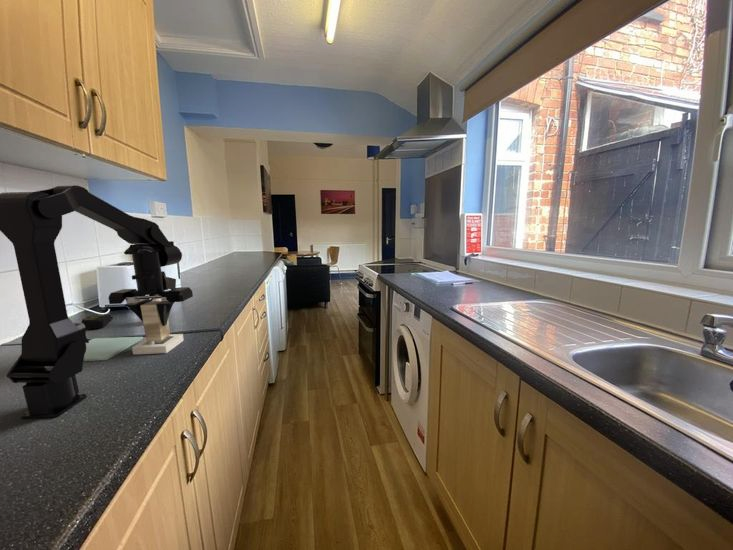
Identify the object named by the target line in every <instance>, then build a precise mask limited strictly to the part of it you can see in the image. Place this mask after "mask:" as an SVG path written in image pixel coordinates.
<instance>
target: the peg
mask: <svg viewBox="0 0 733 550" xmlns="http://www.w3.org/2000/svg"><path fill="white" fill-rule="evenodd" d="M160 302H161V301H152V300H149V302H148V303H145V304H143V305H140V306H141V312H142V318H143V322H142V324H143V331H144V334H145V339H146V341H162V340H163V339H165V338H166V337H168V336H169V335H170V334H171V331H170V324H169V321H167V324H166V325H165V326H163V325H162V323H161V320H160V316H159V312H158V309H157V305H156V304H158V303H160Z"/></svg>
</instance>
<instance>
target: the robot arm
mask: <svg viewBox="0 0 733 550" xmlns="http://www.w3.org/2000/svg"><path fill="white" fill-rule="evenodd" d="M73 212H76V213H78V214H80V215H82V216H84V217H87V218H89V219H90V220H93V221H95V222H97V223H99V224H101V225H104V226H106V227H108V228H110V229H112V230H113V231H115V232H116V233H117V236H118V237H119V238H120V239H122V240H124V242H126V243H128V244H129V247H128V248H126V250H125V251H124V252H123V253H124V255H131V257H132V264H133V269H134V270H133V271H134V274H132V275H131V279H132V281H133V280H135V281H136V282H135V283H136V287H137V288H122V289H120V290H116V291H113V292H110V294H109V295H108V297H107V298H108V303H109V304H108V305H119V304H123V303H124V301H125V302H126V304H125V303H124V307H125V308H126V307H127V308H128V309H130V310H131V311H132V312H133V313H134V314H135V316H137V317H138V319H139V320H140V321H141V322H142V323H143V318H142V312H141V306H140V305H143V304H145V303H148V302H150V301H151V299H152V300H153V299H158V298H161V302H160V303H158V304H156V305H157V309H158V312H159V316H160V320H161V323H162V325H163V326H165V325H166V324H167V321H168V320H169V317H170V314H171V310H172V307H173V306H174V304H175V303H182V302H184V301H187V300H189V299H191V298H193V297H194V295H193V290H192V288H190V287H189V286H188V287H187V286H185V287H184V286H183V287H176V286H177V278H173V277H168V276H166V272H165V271H162V268H163V267H167V266H170V265H171V266H172V265H175V264H179V263H180V262H181V260H183V259H182V258H183V253H182V251H181V249H180V248H179V247H178V246H176V245H175V244H174V243H175V242H174V241H169V240H168V238H167V237H166V236H165V234H164V233H163V231H162V230H161V229H160V226H159V225H158V223H156V222H154V221H152V220H149V219H146V218H143V217H137V216H132V215H131V214H129V213H126V212H125V211H123V210H121V209H119V208H118V207H117V206H114V205H112V204H110V203H109V202H108V201H105V200H104V199H101V198H100V197H98V196H96V195H95V194H93V193H91V192H89V190H88V189H87V188H85V187H84V186H80V185H76V184H75V185H57V186H54V187H51V188H48V189H43V190H42V189H40V190H35V191H18V192H17V191H15V192H14V191H11V192H10V191H9V192H8V191H7V192H1V193H0V232H1V233H2V234H3V236H4V237H6V238H7V239H8V241H10V243H12V246H13V249H14V253H15V258H16V263H17V268H18V273H19V278H20V283H21V287H22V291H23V297H24V301H25V307H26V311H27V315H28V322H29V323H28V326H27V328H26V329H25V332H24V334H23V335H22V337H21V354H20V355H19V356H18V357H17V360H16V361H15V362H14V364H13V365H12V367H11V368H10V369H9V371H8V372H7V374H6V378H7V379H8V380H10V382H11V383H12V384H23V383H24V385H23V386H22V391H23V394H24V395H23V396H24V398H25V402H26V406H27V411H25V412H23V413H22V414H20V415H19V416H20V418H21V419H35V418H37V419H38V418H55V417H58V416H61V415H62V414H64V413H65V412H67V411H68V410H70V408H73V406H75V405H77V404H78V403H79V402H81V401H82V400H84V399H85V398H87V394H86V393H80V391H79V385H78V381H77V377H76V375H78V374H80V373H81V372H82V371H83V365H84V361H83V360H84V354H85V353H86V343H89V341H90V340H89V339H88V337H87V334H86V333H87V332H86V331H87V329H86V327H85V325H84V324H83V323H82V322H77V323H75V322H73V321H72V320H71V319H70V318H69V315H68V310H67V305H66V300H65V295H64V290H63V284H62V277H61V274H60V267H59V264H58V263H59V262H58V258H57V257H58V256H57V251H56V247H55V242H56V240H57V238H58V236H59V234H60V232H61V231H62V228H63V216H65V215H67V214H70V213H73ZM168 322H169V321H168Z"/></svg>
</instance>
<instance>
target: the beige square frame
mask: <svg viewBox="0 0 733 550" xmlns="http://www.w3.org/2000/svg"><path fill="white" fill-rule="evenodd" d="M184 341H185V340H184V333H175V334H174V333H173V334H172V333H170V335H169V336H168V337H166V338H165V339H163V340H162V341H146V338H145V339H144V340H141V341H139V342H138V343H137V344H134V346H132V347H131V349H132V355H133V356H134V355H153V354H156V355H157V354H167V353H169V352H170V351H172V350H174V348H175V347H177V346H178V345H179V344H181V343H183V342H184Z"/></svg>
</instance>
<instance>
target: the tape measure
mask: <svg viewBox="0 0 733 550" xmlns="http://www.w3.org/2000/svg"><path fill="white" fill-rule="evenodd" d="M113 317H114V316H113V315H111V314H109V313H108V314H107V313H106V314H92V315H89V316H85V317H83V318H82V320H81V323H83V324H84V325H85V327H86V330H93V329H98V328H102V327H105V326H106V325H107V324H109V323H110V322H112V320H113V319H114V318H113Z"/></svg>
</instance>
